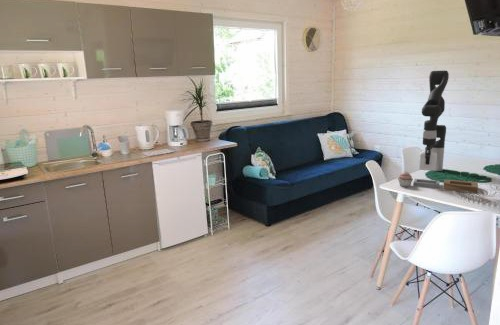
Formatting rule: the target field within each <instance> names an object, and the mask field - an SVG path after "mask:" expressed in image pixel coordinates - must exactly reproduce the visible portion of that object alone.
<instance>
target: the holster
mask: <svg viewBox="0 0 500 325" xmlns="http://www.w3.org/2000/svg"><path fill="white" fill-rule="evenodd" d="M412 182H413V183H412V186H414V187H423V188H432V189H439V188H440V183H441V182H440V180H435V179H434V180H433V179H424V178H414V180H413V181H412Z"/></svg>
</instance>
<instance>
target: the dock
mask: <svg viewBox="0 0 500 325" xmlns="http://www.w3.org/2000/svg"><path fill="white" fill-rule="evenodd" d="M442 187H443V188H442V190H443V191H444V190H445V191H454V192H462V191H468V192H467V193H471V192H476V193H475V194H478V189H479V183H478V182H476V181H468V180H467V181H465V180H455V179H444V182H443V186H442Z"/></svg>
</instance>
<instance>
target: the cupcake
mask: <svg viewBox="0 0 500 325" xmlns="http://www.w3.org/2000/svg"><path fill="white" fill-rule="evenodd" d="M413 179H414V178H412V175H411V174H410V173H409V172H408V171H406V170H404V172H402V173H400V174H399V175H398V177H397V180H398V183H399V186H400V187H403V188H410V186H411V185H412V182H413V181H414V180H413Z"/></svg>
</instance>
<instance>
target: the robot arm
mask: <svg viewBox="0 0 500 325" xmlns="http://www.w3.org/2000/svg"><path fill="white" fill-rule="evenodd" d="M449 76H450V75H449V71H448V70H432V71H430V73H429V76H428V77H429V80H428V82H429V95H428V98H427V101H426V102H425V104H424V105H423V106H422V108H421V114H422V116H423V117H429V119H427V120H425V121H424V124H423V133H422V145H423V146H425V147H424V151H425V158H426V163H425V164H427V165H429V162H430V155H431V151H433V152H436V153H437V167H436V171H435V172H443V167H444V157H445V156H444V154H445V143H446V142H445V141H446V134H447V126H446V125H444V124H438V121H439V118H440V117H441V115H442V114H443V113H444V112H445V108H446V107H445V106H446V105H445V103H446V101H445V99H444V97H443V96H442V95H443V94H444V91H445V89H446V87H447V85H448V82H449V78H450V77H449ZM427 155H429V157H428V156H427Z"/></svg>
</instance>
